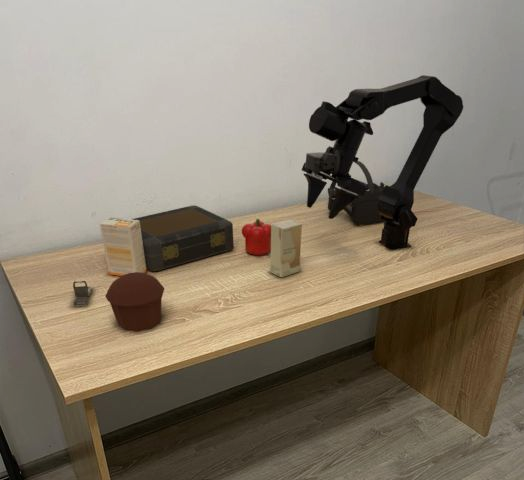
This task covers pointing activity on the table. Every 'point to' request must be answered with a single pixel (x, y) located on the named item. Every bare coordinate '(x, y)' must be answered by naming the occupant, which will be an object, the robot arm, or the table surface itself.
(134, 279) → the muffin
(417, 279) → the table surface
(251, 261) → the table surface
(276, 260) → the cosmetic box
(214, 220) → the cash box
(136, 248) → the supplement box
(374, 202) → the virtual reality headset
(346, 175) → the robot arm
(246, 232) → the red pepper
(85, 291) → the strap clip
